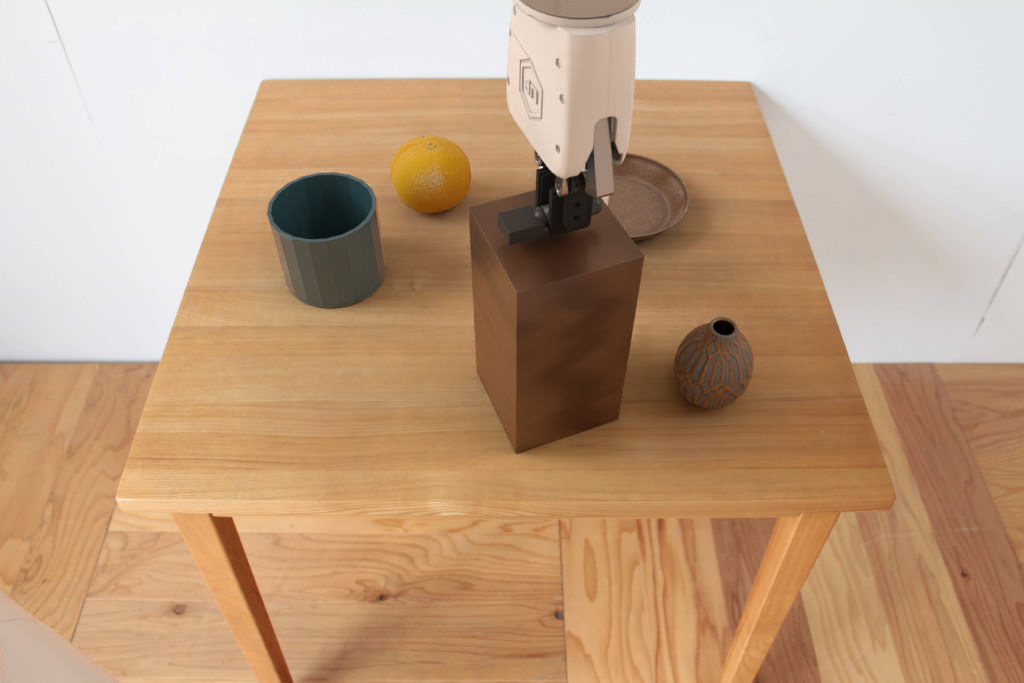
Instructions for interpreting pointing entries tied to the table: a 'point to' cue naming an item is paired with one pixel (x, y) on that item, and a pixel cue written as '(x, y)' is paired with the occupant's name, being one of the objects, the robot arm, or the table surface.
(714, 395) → the vase
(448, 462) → the table surface
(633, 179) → the saucer
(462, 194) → the fruit
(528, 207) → the dark grey mallet
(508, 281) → the stand
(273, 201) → the tumbler
